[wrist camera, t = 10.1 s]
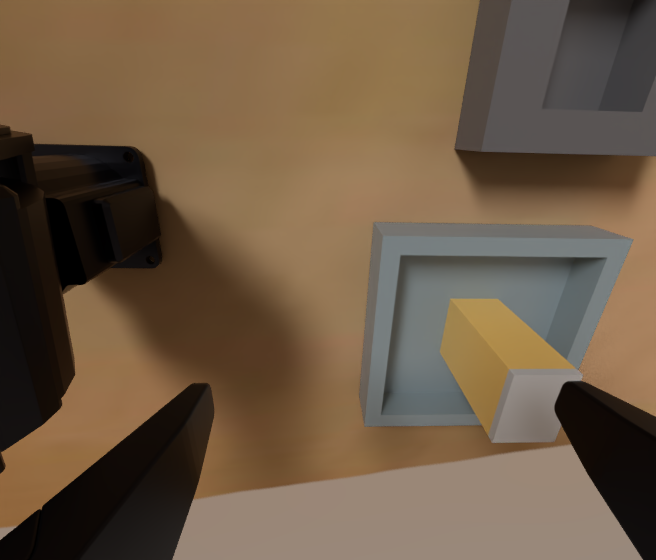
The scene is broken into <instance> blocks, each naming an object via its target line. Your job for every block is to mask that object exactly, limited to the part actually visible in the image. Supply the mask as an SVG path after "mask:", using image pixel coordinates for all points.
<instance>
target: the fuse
mask: <svg viewBox="0 0 656 560" xmlns="http://www.w3.org/2000/svg"><path fill="white" fill-rule="evenodd" d="M440 353H441V355H442V357H443V359H444V360H445V362H446V364H447V366H448V367H449V369H450V371H451V372H452V374H453V376H454V378H455V379H456V381H457V383H458V385H459V386H460V388H461V390H462V392H463V393H464V395H465V397H466V398H467V400H468V402H469V404H470V405H471V407H472V409H473V411H474V412H475V414H476V416H477V418H478V419H479V421H480V423H481V424H482V426H483V428H484V430H485V431H486V433H487V435H488V437H489V438H490V440H491V442H492V443H523V442H554V441H555V439H556V437H557V434H558V432H559V430H560V427H561V424H560V422H559V420H558V418H557V416H556V414H555V410H554V405H555V402H556V399H557V397H558V395H559V392H560V390H561V387H562V385H563V384H564V383H565V382H567V381H581V379H582V377H583V374H582V373H581V372H579V371H578V370H577V369H576V368H575V367H574V366H573V365H572V364H570V363H569V362H568V361H567V360H566V359H565V358H564V357H563V356H561V355H560V354H559V353H558V352H557V351H556V350H555V349H554V348H552V347H551V346H550V345H549V344H548V343H547V342H546V341H545V340H544V339H542V338H541V337H540V336H539V335H538V334H537V333H536V332H535V331H533V330H532V329H531V328H530V327H529V326H528V325H527V324H526V323H524V322H523V321H522V320H521V319H520V318H519V317H518V316H517V315H515V314H514V313H513V312H512V311H511V310H510V309H509V308H508V307H506V306H505V305H504V304H503V303H502V302H501V301H500V300H499V299H450V303H449V308H448V313H447V318H446V323H445V328H444V333H443V338H442V343H441V348H440Z"/></svg>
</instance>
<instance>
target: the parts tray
mask: <svg viewBox="0 0 656 560" xmlns="http://www.w3.org/2000/svg"><path fill="white" fill-rule="evenodd" d="M633 240H634V239H631V238H628V237H624V236H621V235H618V234H615V233H612V232H609V231H606V230H603V229H600V228H597V227H594V226H580V225H517V224H453V223H390V222H374V224H373V236H372V248H371V260H370V272H369V284H368V296H367V308H366V320H365V332H364V344H363V356H362V368H361V380H360V392H359V397H360V403H361V409H362V415H363V421H364V427H372V426H457V425H482V424H481V423H480V421H479V419H478V418H477V416H476V414H475V412H474V411H473V409H472V407H471V405H470V404H469V402H468V400H467V398H466V397H465V395H464V393H463V392H462V390H461V388H460V386H459V385H458V383H457V381H456V379H455V378H454V376H453V374H452V372H451V371H450V369H449V367H448V366H447V364H446V362H445V360H444V359H443V357H442V355H441V353H440V348H441V343H442V338H443V333H444V328H445V323H446V318H447V313H448V308H449V303H450V299H499V300H500V301H501V302H502V303H503V304H504V305H505V306H506V307H508V308H509V309H510V310H511V311H512V312H513V313H514V314H515V315H517V316H518V317H519V318H520V319H521V320H522V321H523V322H524V323H526V324H527V325H528V326H529V327H530V328H531V329H532V330H533V331H535V332H536V333H537V334H538V335H539V336H540V337H541V338H542V339H544V340H545V341H546V342H547V343H548V344H549V345H550V346H551V347H552V348H554V349H555V350H556V351H557V352H558V353H559V354H560V355H561V356H563V357H564V358H565V359H566V360H567V361H568V362H569V363H570V364H572V365H573V366H574V367H575V368H576V369H577V370H578V369H579V367H580V364H581V362H582V360H583V357H584V355H585V353H586V350H587V348H588V346H589V343H590V341H591V338H592V336H593V334H594V331H595V329H596V327H597V324H598V322H599V320H600V317H601V315H602V313H603V310H604V308H605V305H606V303H607V301H608V298H609V296H610V294H611V291H612V289H613V287H614V284H615V282H616V280H617V277H618V275H619V273H620V270H621V268H622V265H623V263H624V261H625V258H626V256H627V254H628V251H629V249H630V247H631V244H632V242H633Z"/></svg>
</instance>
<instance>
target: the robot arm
mask: <svg viewBox="0 0 656 560" xmlns="http://www.w3.org/2000/svg"><path fill="white" fill-rule="evenodd" d="M129 152H130V153H131V154H132V155H133V157H134V160H133V162H131V161H130V160H129V159H128V157H127V155H128V153H129ZM160 235H161V232H160V226H159V221H158V216H157V211H156V205H155V200H154V195H153V191H152V190H151V189H150V188H149V187H148V182H147V177H146V172H145V167H144V162H143V157H142V154H141V152H140V151H139V150H138V149H137V148H135V147H132V146H101V145H62V144H34V143H33V137H32V134H29V133H23V132H17V131H11V130H10V127H9V126H5V125H0V473H2V472H3V470H4V469H5V463H4V460H3V457H2V454H1V452H2V451H4V450H6V449H7V448H9V447H10V446H12V445H13V444H15V443H16V442H18V441H19V440H21V439H22V438H24V437H25V436H27V435H28V434H30V433H31V432H33V431H34V430H36V429H37V428H39V427H40V426H42V425H43V424H44V423H45V422H46V421H47V420H49V419H50V418H51V417H52V416H53V415H54V414H55V413H56V412H57V411H58V410H59V409H60V408H61V406H62V400H61V398H62V397H63V396H64V394H65V393H66V391H67V389H68V387H69V385H70V383H71V381H72V380H73V378H74V376H75V362H74V354H73V349H72V343H71V338H70V332H69V327H68V321H67V316H66V310H65V304H64V299H63V294H64V293H66V292H67V291H69V290H71V289H72V288H74V287H75V286H77V285H83V284H85V283H87V282H89V281H90V280H92V279H93V278H95V277H96V276H98V275H100V274H101V273H103V272H104V271H106V270H107V269H109V268H156V267H157V266H158V265H160V264H161V262H162V254H161V249H160V244H159V237H160ZM149 256H152V257H153V258H154V259H155V262H153V261H151V260H150V259H149ZM554 410H555V414H556V416H557V418H558V420H559V422H560V424H561V425H562V427H563V429H564V431H565V433H566V435H567V437H568V438H569V440H570V442H571V444H572V446H573V448H574V450H575V452H576V453H577V455H578V457H579V459H580V461H581V463H582V464H583V466H584V468H585V469H586V472H587V473H588V475H589V477H590V478H591V480H592V481H593V483H594V485H595V486H596V488H597V489H598V491H599V492H600V494H601V496H602V497H603V499H604V500H605V502H606V503H607V505H608V506H609V508H610V510H611V511H612V513H613V514H614V516H615V517H616V519H617V520H618V522H619V523H620V525H621V527H622V528H623V530H624V531H625V532H626V534H627V536H628V537H629V539H630V540H631V542H632V543H633V545H634V547H635V548H636V549H637V551H638V553H639V554H640V556H641V557H642V559H643V560H656V417H655V416H653V415H651V414H649V413H647V412H645V411H643V410H641V409H639V408H637V407H635V406H633V405H631V404H629V403H627V402H625V401H623V400H621V399H619V398H617V397H615V396H613V395H611V394H609V393H606V392H604V391H602V390H600V389H598V388H596V387H594V386H592V385H590V384H588V383H586V382H583V381H567V382H565V383H564V384H563V385H562V387H561V390H560V392H559V395H558V397H557V399H556V402H555V405H554ZM213 418H214V404H213V397H212V391H211V387H210V385H209V384H208V383H194V384H191V385H189V386H188V387H187V388H186V389H185V390H183V391H182V392H181V393H180V394H178V395H177V396H176V397H175V398H174V399H172V400H171V401H170V402H169V403H167V404H166V405H165V406H164V407H163V408H161V409H160V410H159V411H158V412H157V413H155V414H154V415H153V416H152V417H150V418H149V419H148V420H147V421H146V422H144V423H143V424H142V425H141V426H139V427H138V428H137V429H136V430H135V431H133V432H132V433H131V434H130V435H128V436H127V437H126V438H125V439H124V440H122V441H121V442H120V443H119V444H117V445H116V446H115V447H114V448H113V449H111V450H110V451H109V452H108V453H106V454H105V455H104V456H103V457H102V458H100V459H99V460H98V461H97V462H96V463H94V464H93V465H92V466H91V467H89V468H88V469H87V470H86V471H85V472H83V473H82V474H81V475H80V476H78V477H77V478H76V479H75V480H74V481H72V482H71V483H70V484H69V485H67V486H66V487H65V488H64V489H63V490H61V491H60V492H59V493H58V494H56V495H55V496H54V497H53V498H52V499H50V500H49V501H48V502H47V503H45V504H44V505H43V507H42V510H41V509H39V510H37V511H36V512H34V513H33V514H32V515H31V516H29V517H28V518H27V519H26V520H25V521H23V522H22V523H21V524H20V525H18V526H17V527H16V528H15V529H14V530H13V531H11V532H10V533H8V534H7V535H6V536H5V537H3V538H2V539H1V540H0V560H172V558H173V556H174V553H175V550H176V547H177V544H178V541H179V538H180V535H181V533H182V530H183V527H184V524H185V521H186V518H187V515H188V512H189V509H190V506H191V503H192V501H193V498H194V495H195V492H196V489H197V485H198V482H199V478H200V474H201V470H202V466H203V462H204V457H205V453H206V449H207V444H208V440H209V436H210V431H211V427H212V423H213Z"/></svg>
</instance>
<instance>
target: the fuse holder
mask: <svg viewBox="0 0 656 560" xmlns="http://www.w3.org/2000/svg"><path fill="white" fill-rule="evenodd" d="M455 149H458V150H469V151H480V152H515V153H554V154H593V155H632V156H656V0H480V3H479V9H478V15H477V21H476V27H475V33H474V38H473V44H472V50H471V56H470V62H469V68H468V74H467V79H466V85H465V91H464V97H463V103H462V109H461V115H460V120H459V126H458V132H457V138H456V144H455Z"/></svg>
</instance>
